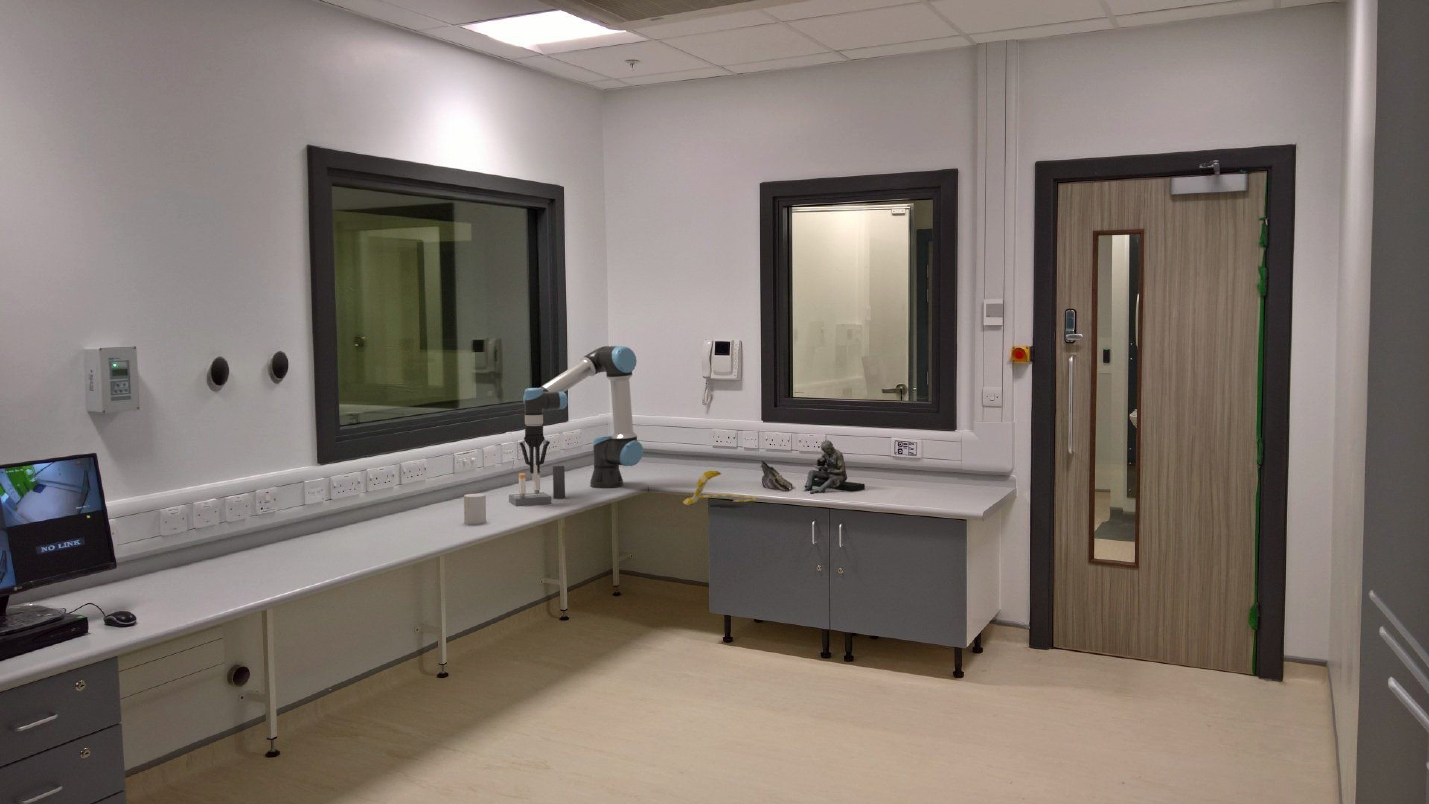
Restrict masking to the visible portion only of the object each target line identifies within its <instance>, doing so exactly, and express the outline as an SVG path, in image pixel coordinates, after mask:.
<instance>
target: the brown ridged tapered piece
mask: <svg viewBox="0 0 1429 804" xmlns="http://www.w3.org/2000/svg"><path fill="white" fill-rule="evenodd" d="M760 468H761V469H762V473H763V476H762V477H761V486H762V487H763V488H765V489H773V490H782V491H784V492H785V491H791V490H792V488H793V483H791V482H790V481H788V480H787V479H785V478H784V477H783V475H782V474H780V472H778V471H777V470H776V469H775V468H774V467H773V466H770V465H768V463H766V461H764V460H761V464H760Z"/></svg>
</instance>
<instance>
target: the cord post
mask: <svg viewBox="0 0 1429 804" xmlns="http://www.w3.org/2000/svg"><path fill="white" fill-rule="evenodd" d="M565 470H566V469H565V465H554V466H553V465H552V487H553V489H552V490H553V491H552V492H553V493H552V495H553V496H552V497H553V500H564V499H566V476H565ZM563 498H564V499H563Z"/></svg>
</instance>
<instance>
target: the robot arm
mask: <svg viewBox="0 0 1429 804" xmlns="http://www.w3.org/2000/svg"><path fill="white" fill-rule="evenodd" d="M637 362H638V361H637V356H636V354H635V352H634V351H633V350H632V349H631V348H630V347H628V346H624V345H623V346H622V345H612V346H610V345H607V346H601V347H598V348H596V349H594V350H593V351H592V350H591V352H589V353H587V354H586V355H584V356H582V357H581V358H580V361H579V362H577V363H576V364H574V365H572V366H571V367H569V368H568V369H567V370H565V371H563V372H562V373H560V374H559V375H557V376H556V377H554V378H552V379H551V380H549V381H548V382H546V383H544V384H543V385H541V386H540V387H528V388H525V389H524V394H523V397H522V402H523V404H524V424H525V426H524V438H523V439H522V440H521V441H519V442H518V445H519V447H520V448H521V452H522V456H523V458H524V462H525V464H526V465H528V466H529V473H530V474H531V475H532V482H533V481H534V482H535V481H537V473H539V472H540V473H541V471H540V466H541V465H544V464H545V459H546V455H547V451H548V447H549V445H550V444H551V442H550V441H549V440H547V439H545V436H544V426H543V424H544V411H554V410H556V411H557V410H558V411H559V410H564V409H565V408H566V407H567V406H568V403H569V400H568V399H569V398H568V396H567V394H566V393H565V392H566V391H568V390H569V389H571V388H572V387H574V386H575V385H577V384H579V383H580V382H582V381H584V380H585V379H587V378H588V377H594V376H595V375H597V374H600V373H606V375H605V376H606V378H607V379H608V380H609V382H610V383H609V384H610V393H611V395H610V396H611V406H612V408H611V409H612V418H613V419H612V421H613V422H612V423H613V431H614V433H613V435H608V436H606V435H605V436H596V437H595V438H594V439H593V443H592V450H593V470H592V474H591V478H590V481H589V483H590V485H589V486H590V487H592V488H598V489H599V488H601V489H602V488H603V489H605V488H606V489H608V488H619V487H623V486H624V480H623V477H622V473H621V471H620V466H623V467H634V466H636V465H637V464H639V463H640V460H641V459H642V457H643V455H644V448H643V444H642V443H641V442H640V441H639V440H638V435H637V434H636V433H635V432H634V424H633V411H632V397H631V386H630V383H631V382H630V379H631V378H632V377H633V371H634V370H635V369H636V366H637ZM526 444H527V446H528V450H529V456H528V453H527V452H528V451H527V448H526ZM542 444H543V446H542V450H541V448H540V447H541V445H542ZM534 450H535V455H534ZM540 450H541V452H540ZM540 453H541V454H540ZM534 456H535V457H534ZM534 458H535V459H534ZM534 460H535V461H534ZM534 462H535V463H534ZM622 485H623V486H622Z"/></svg>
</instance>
